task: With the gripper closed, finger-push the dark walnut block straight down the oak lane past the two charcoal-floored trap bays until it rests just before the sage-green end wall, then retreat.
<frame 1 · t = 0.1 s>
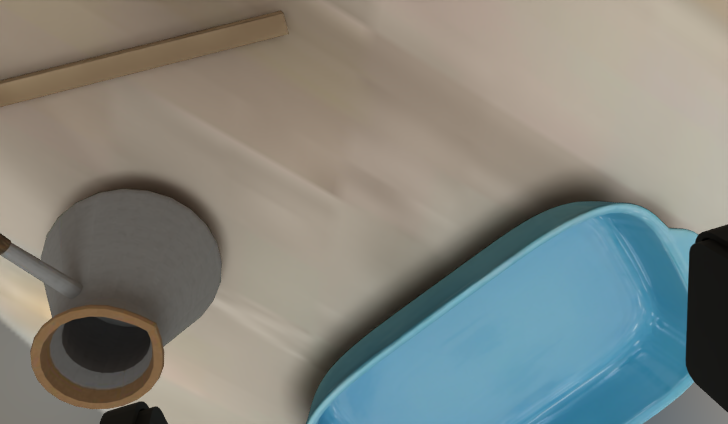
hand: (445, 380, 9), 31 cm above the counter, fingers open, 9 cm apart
casserole dish: (484, 343, 50), on the counter
coffee pot: (96, 196, 38), on the counter
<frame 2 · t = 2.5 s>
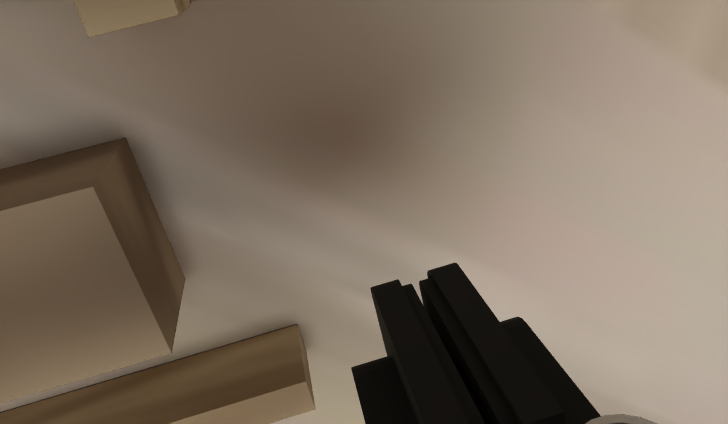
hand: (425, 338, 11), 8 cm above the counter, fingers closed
walnut block: (77, 232, 17), on the counter
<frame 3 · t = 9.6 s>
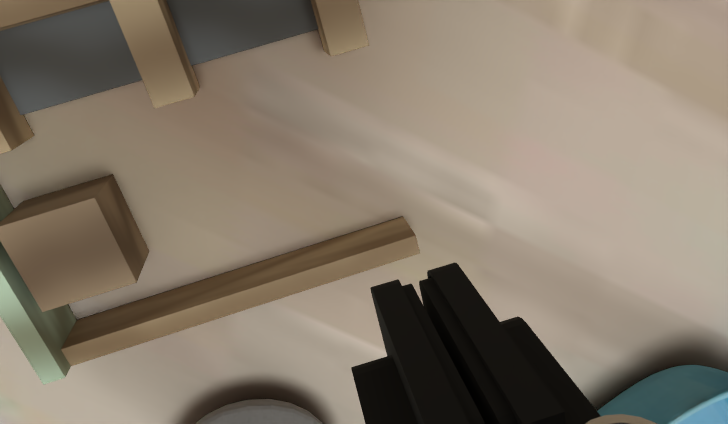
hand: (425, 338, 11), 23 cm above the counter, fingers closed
trap box: (201, 189, 32), on the counter
coffee pot: (212, 398, 38), on the counter
walnut block: (89, 226, 32), on the counter
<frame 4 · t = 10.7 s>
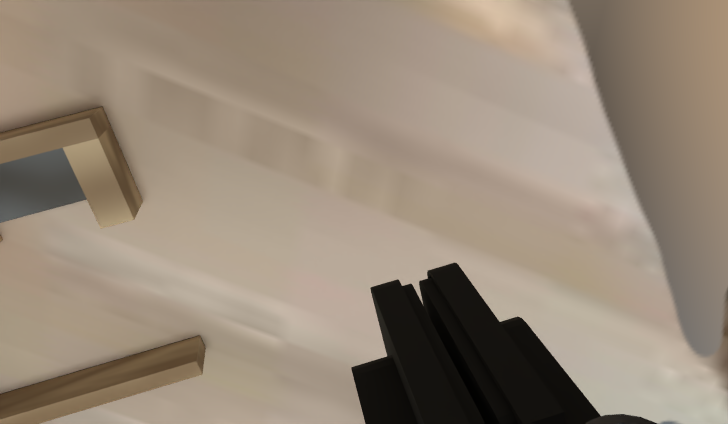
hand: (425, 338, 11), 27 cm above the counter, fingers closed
trap box: (12, 318, 37), on the counter
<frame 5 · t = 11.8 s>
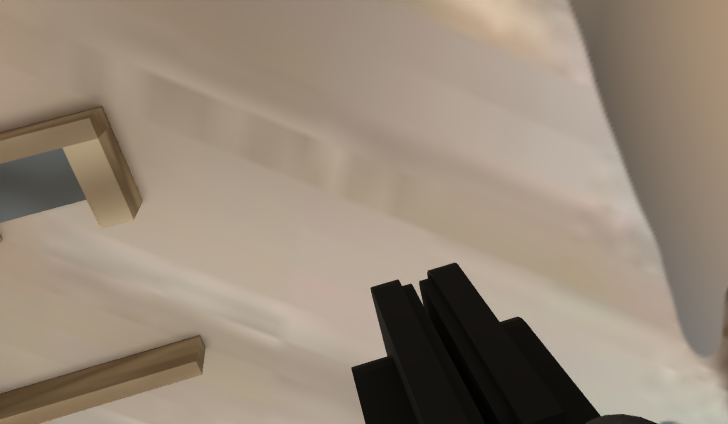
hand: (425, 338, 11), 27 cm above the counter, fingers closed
trap box: (12, 318, 37), on the counter
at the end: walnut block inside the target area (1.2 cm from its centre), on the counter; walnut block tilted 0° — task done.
